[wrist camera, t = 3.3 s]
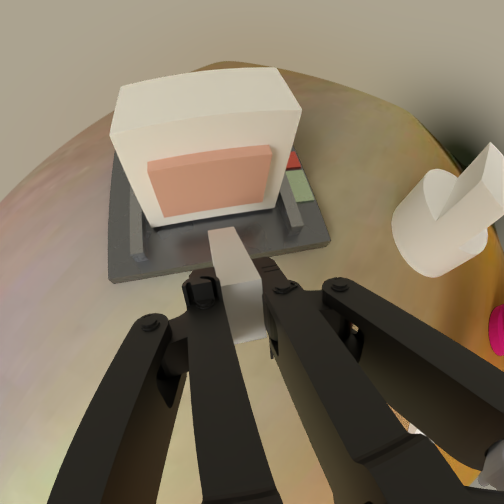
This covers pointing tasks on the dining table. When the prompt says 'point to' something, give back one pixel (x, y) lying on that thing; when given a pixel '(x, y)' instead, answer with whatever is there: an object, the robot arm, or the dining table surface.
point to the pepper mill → (497, 330)
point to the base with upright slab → (450, 215)
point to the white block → (205, 142)
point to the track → (196, 231)
